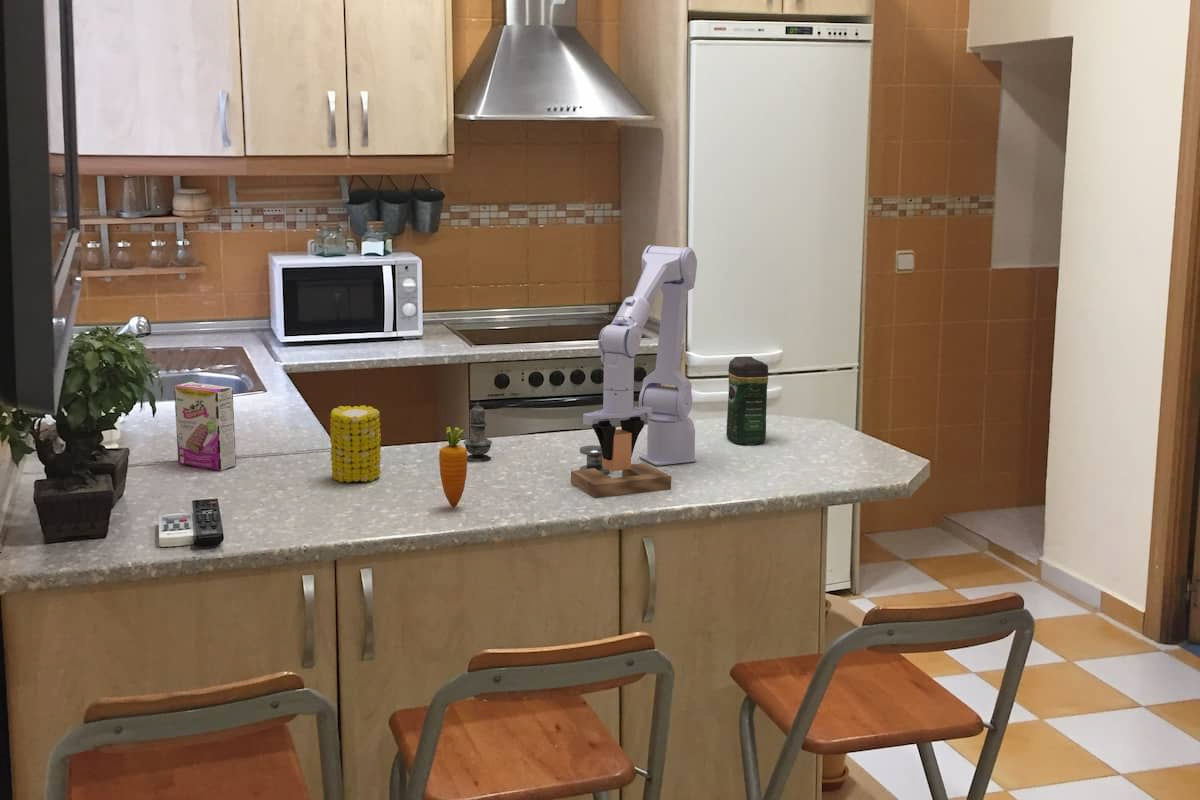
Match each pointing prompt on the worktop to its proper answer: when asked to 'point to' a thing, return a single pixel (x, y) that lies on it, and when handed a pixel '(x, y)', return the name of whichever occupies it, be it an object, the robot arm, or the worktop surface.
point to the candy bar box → (205, 426)
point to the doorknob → (593, 458)
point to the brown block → (620, 452)
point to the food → (355, 443)
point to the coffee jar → (747, 400)
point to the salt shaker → (477, 437)
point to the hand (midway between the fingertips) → (617, 457)
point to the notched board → (621, 481)
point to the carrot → (453, 467)
